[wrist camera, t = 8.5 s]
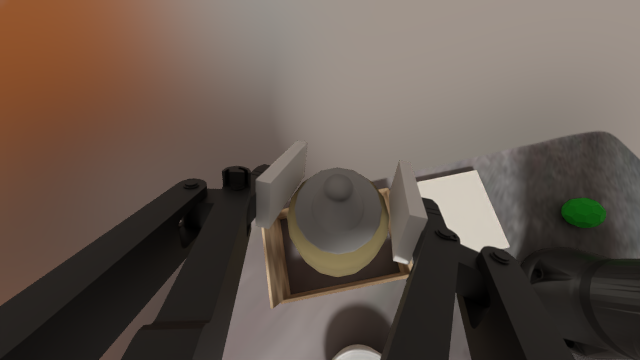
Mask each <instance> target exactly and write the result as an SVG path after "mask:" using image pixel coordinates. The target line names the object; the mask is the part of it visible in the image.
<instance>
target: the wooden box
mask: <svg viewBox="0 0 640 360" xmlns="http://www.w3.org/2000/svg"><path fill="white" fill-rule="evenodd" d="M379 192H380V193H381V194H382V195H383V197H384V199H385V202H386V206H387V210H388V213H389V225H388V231H389V234H390V238H391V241H392V237H391V222H390V207H389V192H390V190H388V188H384V189H379ZM288 210H289V208H285V209H282V210H281V212H280V213H279V215H278V216H277V218H276V219H275V221H274V223H273V224H272V226H271V227H270V229H266V228H262V235H263V244H264V253H265V262H266V271H267V279H268V288H269V297H270V306H271V309H272V308H274V307H275V306H277V305H278V304H279V303H281V304H283V303H288V302H293V301H298V300H303V299H308V298H312V297H317V296H322V295H327V294H332V293H337V292H342V291H346V290H351V289H356V288H361V287H366V286H371V285H375V284H380V283H385V282H390V281H395V280H400V279H405V278H408V276H409V273H410V271H411V268H412V266H413V264H412V261H410V264H409V265H408V264H404V263H400V262H398V266H399V269H400V272H399V273H394V274H389V275H384V276H379V277H374V278H370V279H365V280H360V281H355V282H350V283H345V284H340V285H336V286H331V287H326V288H321V289H316V290H311V291H306V292H302V293H297V294H292V295H291V294H290V287H289V280H288V272H287V265H286V258H285V251H284V244H283V237H282V229H281V222H280V219H285V218H287V214H288Z"/></svg>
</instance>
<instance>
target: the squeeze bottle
mask: <svg viewBox="0 0 640 360" xmlns="http://www.w3.org/2000/svg"><path fill="white" fill-rule="evenodd" d="M287 221H288V228H289V236H290V238H291V239H292V241H293V243H294V245H295V246H296V248H297V250H298V251H299V253H300V255H301V256H302V257H303V259H304V260H305V262H306V263H307V264H309V265H310V266H311V267H313V268H314V269H315V270H317V271H318V272H320V273H322V274H326V275H331V276H335V277H340V276H346V275H351V274H355V273H356V272H358V271H359V270H361V269H362V268H363V267H365V266H366V265H368V264H369V263H370V262H371V261H372V259H373V258H374V257H375V256H376V255H377V253H378V251H379V250H380V248H381V246H382V245H383V243H384V241H385V240H386V238H387V233H388V225H389V213H388V210H387V206H386V202H385V199H384V197H383V195H382V194H381V193H380V192H379V190H378V189H377V188H376V186H375V185H374V184H373V182H371V181H369V180H368V179H367V178H365V177H363V176H362V175H360V174H358V173H357V172H355V171H353V170H348V169H342V168H333V169H328V170H323V171H320V172H319V173H317V174H315V175H314V176H312V177H311V178H309V179H307V180H306V181H304V182H303V183H302V184H301V186H300V187H299V188H298V190H297V191H296V192H295V194H294V195H293V197H292V198H291V202H290V206H289V210H288V214H287Z"/></svg>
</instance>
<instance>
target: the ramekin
mask: <svg viewBox="0 0 640 360" xmlns="http://www.w3.org/2000/svg"><path fill="white" fill-rule="evenodd" d="M381 355H382V354H380V353H379V352H377V351H376V350H374V349H372V348H371V347H368V346H365V345H359V344H357V345H350V346H348V347H345V348H343V349H342V350H341V351H339V353H338V354H336V355H335V357H334V358H333V359H332V360H380V358H381Z"/></svg>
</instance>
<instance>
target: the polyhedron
mask: <svg viewBox="0 0 640 360" xmlns="http://www.w3.org/2000/svg"><path fill="white" fill-rule="evenodd" d="M561 214H562V216H563V218H564V219H565V220H566V221H567V222H568V223H570V224H573V225H575V226H578V227H581V228H591V227H596V226H598V225H600V224H601V223H603V221H604V220H605V218H606V211H605V209H604V208H603V207H602V206H601V205H600V204H599V203H598V202H597V201H595V200H592V199H588V198H576V199H571V200H569V201H567V202H566V203H565V204H564V205H563V207H562V210H561Z"/></svg>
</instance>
